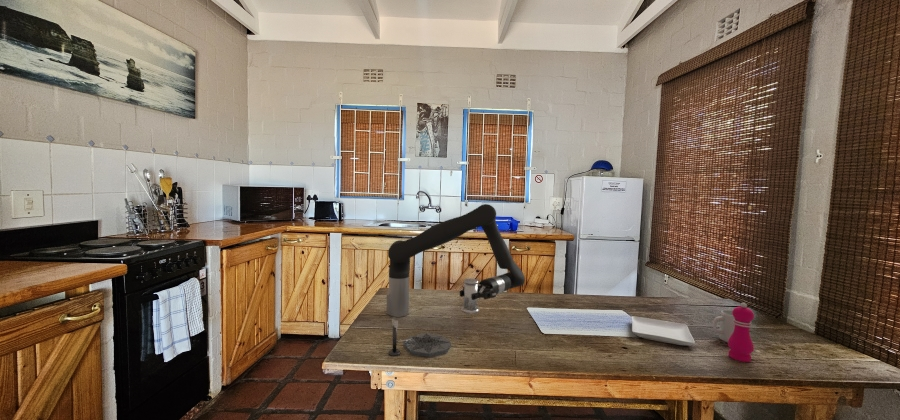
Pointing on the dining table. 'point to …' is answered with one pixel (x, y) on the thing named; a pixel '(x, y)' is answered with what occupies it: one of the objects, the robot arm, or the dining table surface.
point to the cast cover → (470, 296)
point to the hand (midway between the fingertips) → (466, 295)
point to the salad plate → (662, 331)
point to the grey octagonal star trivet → (427, 345)
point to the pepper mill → (741, 334)
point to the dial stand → (395, 339)
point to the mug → (724, 325)
